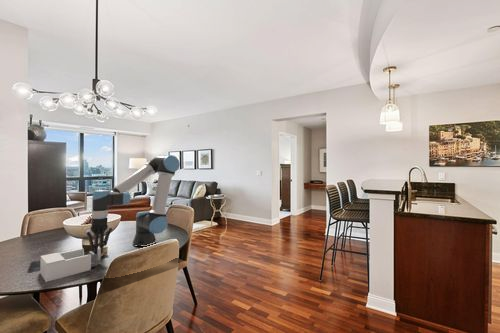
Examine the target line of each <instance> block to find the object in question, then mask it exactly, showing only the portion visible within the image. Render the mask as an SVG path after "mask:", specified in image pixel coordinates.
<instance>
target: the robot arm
mask: <svg viewBox="0 0 500 333" xmlns="http://www.w3.org/2000/svg"><path fill="white" fill-rule="evenodd" d="M179 160H180V159H179V158H178V157H177V156H175V155H173V154H166V155H165V154H163V155H161V154H160V155H157V156H155V157H153V158H152V159H150V160H149V161H148V162H145V164H144V166H143V167H141V168H140V169H139V170H137V171H136V172H134V173H132V174H131V175H130V176H128V177H127V178H126V179H124V180H122V181H121V182H120V183H118V184H117V185H115V186H114V187H113V188H111V189H109V190H106V189H97V190H94V191H93V193H92V209H91V227H90V229H88V230H87V231H85V234H86V236H87V239H88V242H89V247H90V248H91V249H93V253H95V254H96V255H97V256H98V261H101V258H102V256H101V253H102V252H103V246H107V244H108V241H109V238H110V234H111V232H112V230H113V228H111V227H109V225H108V216H109V210H108V209H109V207H114V206H116V207H117V206H124V205H126V206H127V205H129V204H130V202H131V195H130V193H129V191H131V190H132V189H134V188H135V187H136V186H138V185H139V184H141V183H142V182H144V180H146V179H147V178H149V177H150V176H151V175H155V174H157V175H158V178H157V183H156V186H155V187H156V188H155V193H154V197H153V202H152V206H151V209H150V210H147V211H146V210H145V211H139V212H137V213H136V217H135V235H134V237H133V241H132V246H133V245H137V246H141V245H147V244H150V243H153V242H155V241H156V242H157V239H156V235H157V234H161V233H163V232H164V231H165V230H166V229H167V228H168V223H169V221H168V219H167V213H166V206H167V201H168V198H169V193H170V187H171V184H172V183H171V181H172V177H175V173H176V172H177V171H178V170H179V168H180V161H179ZM92 233H93V234H94V240H93V236H92ZM155 234H156V235H155ZM98 246H99V247H98ZM143 248H145V246H144V247H143Z"/></svg>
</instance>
